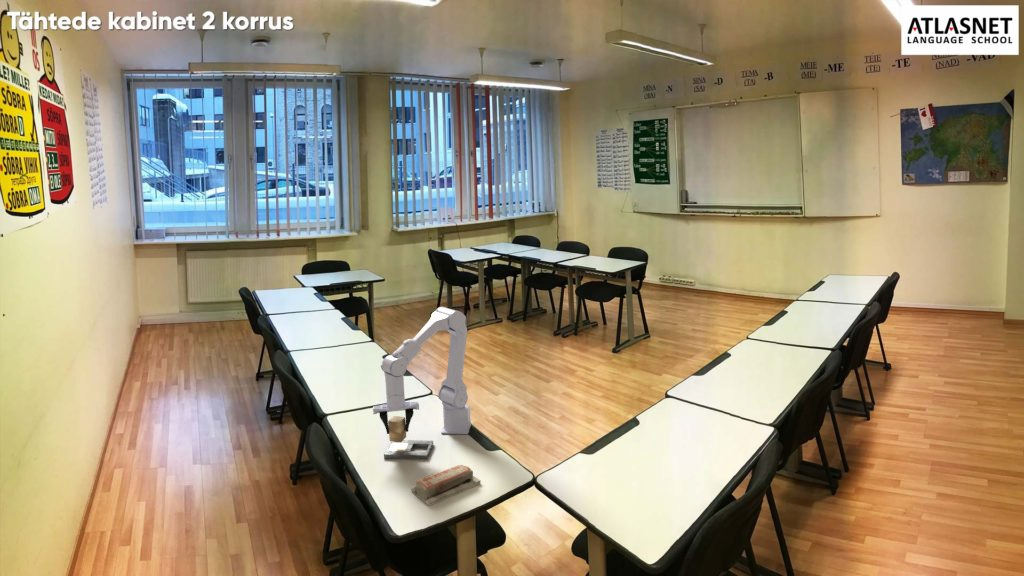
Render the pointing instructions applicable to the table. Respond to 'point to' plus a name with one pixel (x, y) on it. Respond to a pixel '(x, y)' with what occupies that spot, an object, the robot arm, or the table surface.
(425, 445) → the plate
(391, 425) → the peg
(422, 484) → the packaged product
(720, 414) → the table surface
